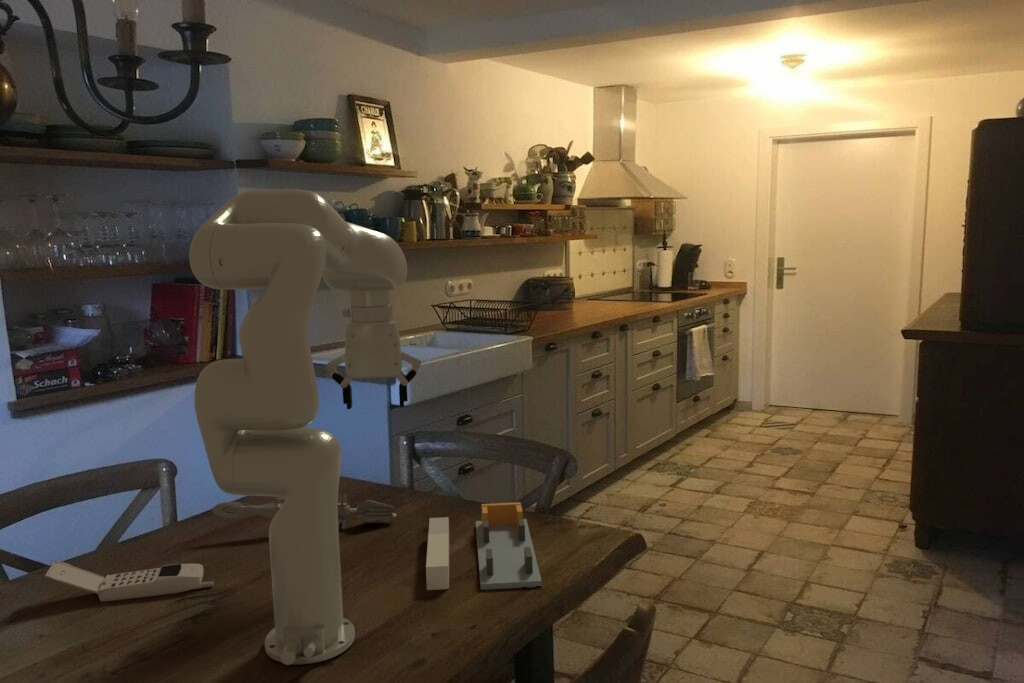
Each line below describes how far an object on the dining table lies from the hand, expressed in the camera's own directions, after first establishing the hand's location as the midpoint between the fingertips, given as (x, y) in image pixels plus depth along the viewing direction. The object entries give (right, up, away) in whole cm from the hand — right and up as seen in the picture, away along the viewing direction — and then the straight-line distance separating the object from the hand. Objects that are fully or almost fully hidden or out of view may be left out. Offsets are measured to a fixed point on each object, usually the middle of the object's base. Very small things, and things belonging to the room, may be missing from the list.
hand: (375, 406), depth 151 cm
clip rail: (+24, -26, -4) cm, 36 cm away
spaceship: (-15, -25, +9) cm, 31 cm away
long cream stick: (+12, -27, -7) cm, 30 cm away
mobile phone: (-37, -30, -16) cm, 50 cm away
